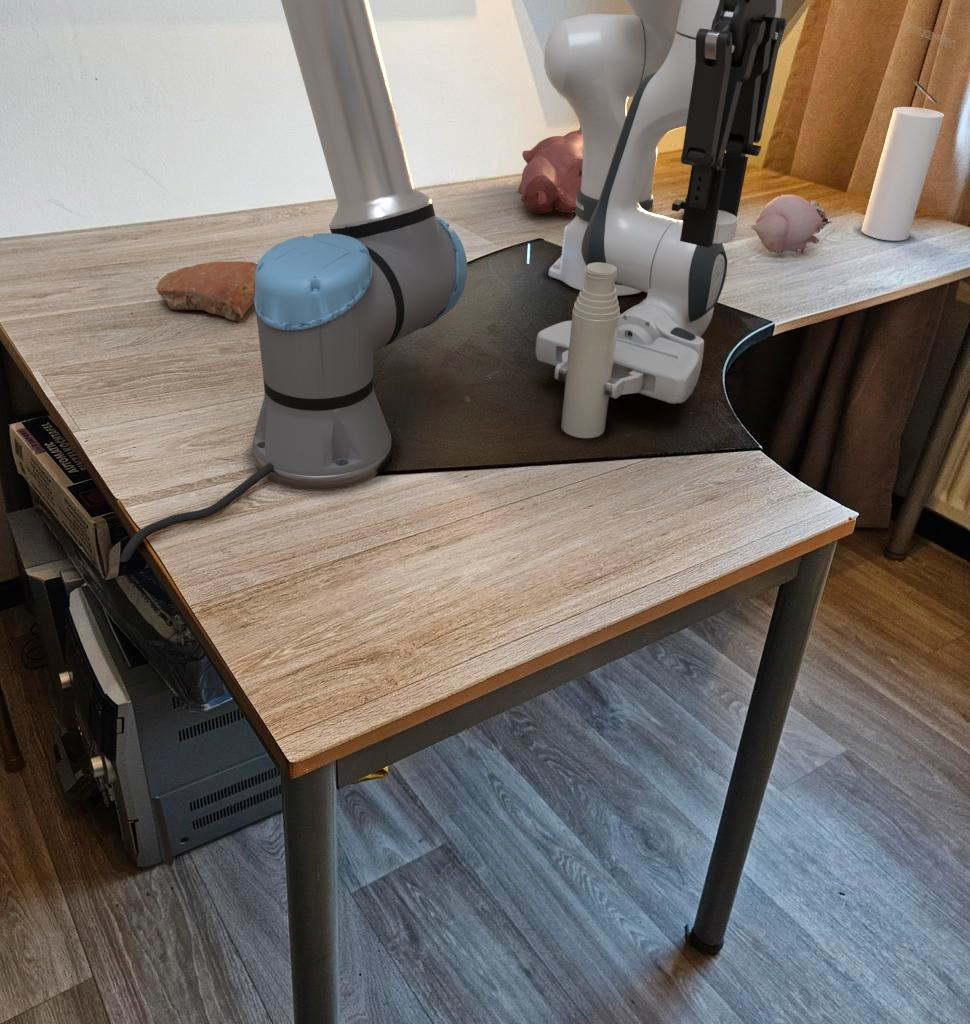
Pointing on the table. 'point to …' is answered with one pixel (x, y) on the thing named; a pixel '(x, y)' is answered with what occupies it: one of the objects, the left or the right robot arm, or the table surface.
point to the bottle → (591, 353)
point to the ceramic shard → (211, 288)
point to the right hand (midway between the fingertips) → (585, 383)
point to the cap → (725, 227)
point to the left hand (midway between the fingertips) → (707, 235)
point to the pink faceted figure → (553, 174)
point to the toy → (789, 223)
